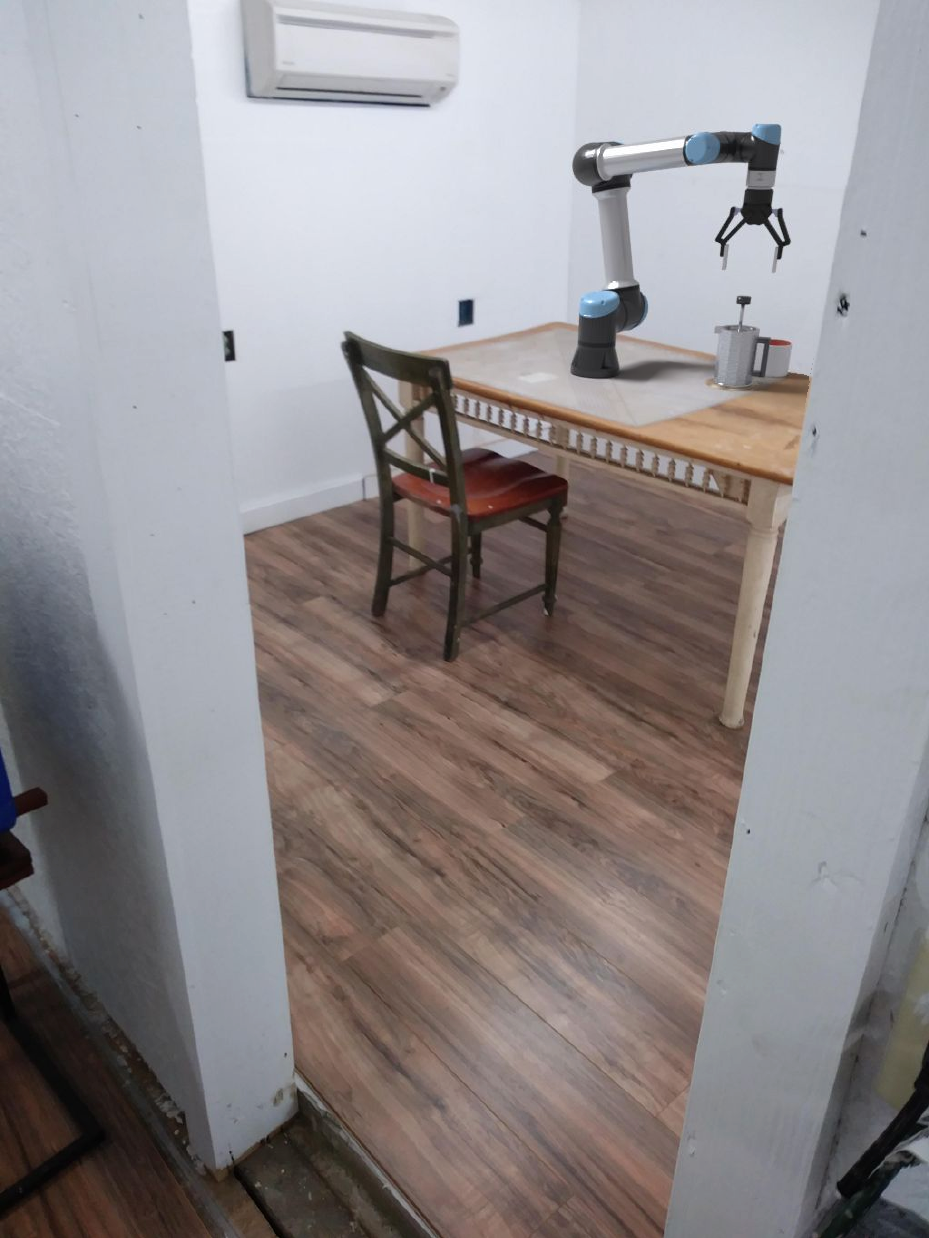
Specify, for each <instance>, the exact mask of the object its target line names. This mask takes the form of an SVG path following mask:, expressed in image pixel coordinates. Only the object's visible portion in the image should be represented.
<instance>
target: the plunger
mask: <svg viewBox="0 0 929 1238" xmlns="http://www.w3.org/2000/svg"><path fill="white" fill-rule="evenodd" d="M735 301H736V302H735V304H737V305H740V312H739V319H738V320H739V321H738V325H739V326H738V330H730V331H737V332H751V331H746V330H742V325H743V322H744V314H745V307H746V306H747V305H751V304H752V296H749V295H737V296H736V299H735Z"/></svg>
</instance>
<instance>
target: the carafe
mask: <svg viewBox="0 0 929 1238" xmlns="http://www.w3.org/2000/svg"><path fill="white" fill-rule="evenodd" d="M738 326H739V324H725V325H715V327H714V332H713V333H714V334H718V337H717V338H718V339H717V347H716V353H715V354H716V355H715V360H714V361H715V364H714V370H713V376H712V378H713V380H714V381H713V383H714V384H715V385H717V386H719V387H724V388H732V389H742V388H748V387H751V385H752V381H754V377H755V378H763V379H765V374H766V368H767V361H768V355H769V348H770V341H771V339H772V337H770V336H760V331H761V329H760V327H759V328H758V327H756V326H753V325H752V326H751V325H747V324H746V325H743V324H742V330H746V331H751V332H737V331H730V330H738ZM758 343H763V344H764V349H763V356H762V363H761V369H760V370H754V368H755V361H756V354H757V347H758Z"/></svg>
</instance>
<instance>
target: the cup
mask: <svg viewBox="0 0 929 1238" xmlns="http://www.w3.org/2000/svg"><path fill="white" fill-rule="evenodd" d="M792 348H793V342H792V341H789V340H783V339H776V338H771V341H770V348H769V355H768V361H767V368H766V374H765V377H766V378H784V377H786V376H787V375H788V372H789V367H790V361H791V355H792ZM763 349H764V344H763V343H758V347H757V354H756V361H755V367H754V370H760V369H761V363H762V356H763ZM765 377H764V378H765Z"/></svg>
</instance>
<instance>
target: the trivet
mask: <svg viewBox="0 0 929 1238" xmlns="http://www.w3.org/2000/svg"><path fill="white" fill-rule="evenodd" d="M713 381H714V380H713V377H712V378H707V379H706V380H704V384H705V385H706V386H708V387H710V388H713V389H716V390H722V391H730V392H749V391H755V390H758V389H759V388H760V387H761V385H760V383H759V382H757V381H755V380H753V381H752V385H751V387H748V388H742V389H732V388H724V387H719V386H717V385H715V384H714V383H713Z"/></svg>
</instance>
